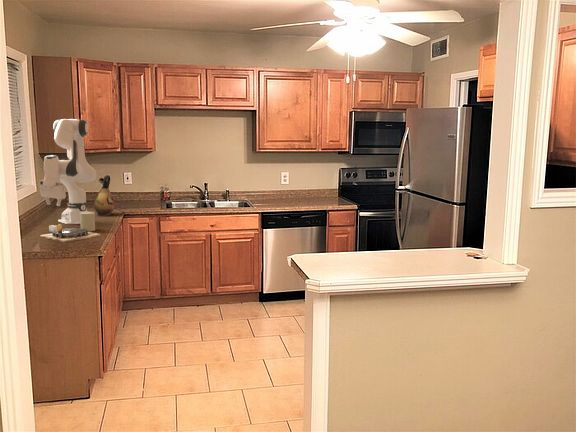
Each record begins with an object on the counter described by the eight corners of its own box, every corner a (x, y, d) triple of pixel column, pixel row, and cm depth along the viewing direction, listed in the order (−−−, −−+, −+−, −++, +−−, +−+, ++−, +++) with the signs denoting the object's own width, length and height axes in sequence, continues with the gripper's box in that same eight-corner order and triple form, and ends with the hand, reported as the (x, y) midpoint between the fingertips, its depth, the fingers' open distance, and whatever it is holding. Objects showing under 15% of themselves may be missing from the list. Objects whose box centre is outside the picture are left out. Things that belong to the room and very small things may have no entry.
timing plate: (39, 236, 328) (39, 230, 327) (74, 230, 349) (74, 224, 348) (65, 242, 315) (65, 235, 314) (100, 235, 336) (100, 229, 335)
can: (97, 230, 352) (97, 212, 350) (84, 232, 346) (83, 213, 344) (91, 228, 359) (91, 210, 357) (78, 229, 352) (77, 211, 350)
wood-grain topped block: (49, 231, 344) (48, 225, 343) (53, 231, 347) (53, 224, 346) (55, 233, 341) (54, 226, 340) (59, 232, 343) (58, 226, 343)
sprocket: (45, 234, 329) (44, 223, 327) (74, 229, 346) (73, 218, 345) (66, 239, 318) (65, 227, 317) (95, 233, 335) (94, 222, 334)
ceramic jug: (108, 217, 401) (107, 176, 396) (90, 215, 404) (88, 175, 399) (120, 213, 417) (119, 174, 412) (102, 212, 420) (100, 174, 415)
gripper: (68, 183, 322) (69, 206, 325) (46, 180, 333) (47, 203, 335) (58, 184, 317) (59, 207, 319) (37, 181, 328) (38, 204, 330)
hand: (53, 205), depth 327 cm, fingers open, 8 cm apart
